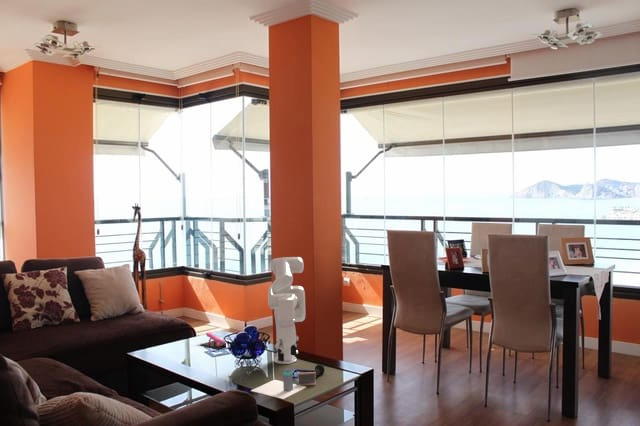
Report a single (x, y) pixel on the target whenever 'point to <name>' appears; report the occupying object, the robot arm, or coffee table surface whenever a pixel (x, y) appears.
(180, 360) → the coffee table surface
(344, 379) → the coffee table surface
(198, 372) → the coffee table surface
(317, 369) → the microphone
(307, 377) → the word card
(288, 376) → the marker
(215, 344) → the pink toy cannon
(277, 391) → the paper
